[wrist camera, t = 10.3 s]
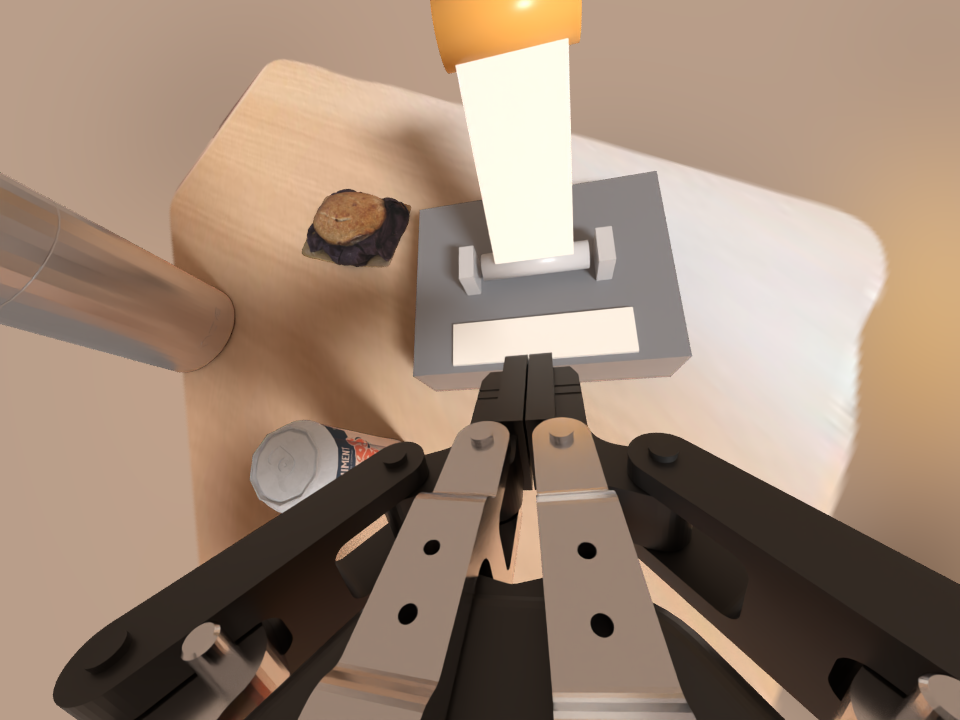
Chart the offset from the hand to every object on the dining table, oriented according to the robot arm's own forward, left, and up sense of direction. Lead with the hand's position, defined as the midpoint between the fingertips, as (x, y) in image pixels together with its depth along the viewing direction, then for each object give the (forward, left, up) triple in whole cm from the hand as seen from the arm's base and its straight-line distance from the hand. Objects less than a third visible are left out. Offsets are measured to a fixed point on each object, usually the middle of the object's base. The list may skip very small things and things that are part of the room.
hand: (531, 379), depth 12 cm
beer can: (-12, -6, -17) cm, 22 cm away
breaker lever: (-3, +10, -10) cm, 15 cm away
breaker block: (-3, +10, -17) cm, 20 cm away
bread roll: (-23, +16, -18) cm, 33 cm away
